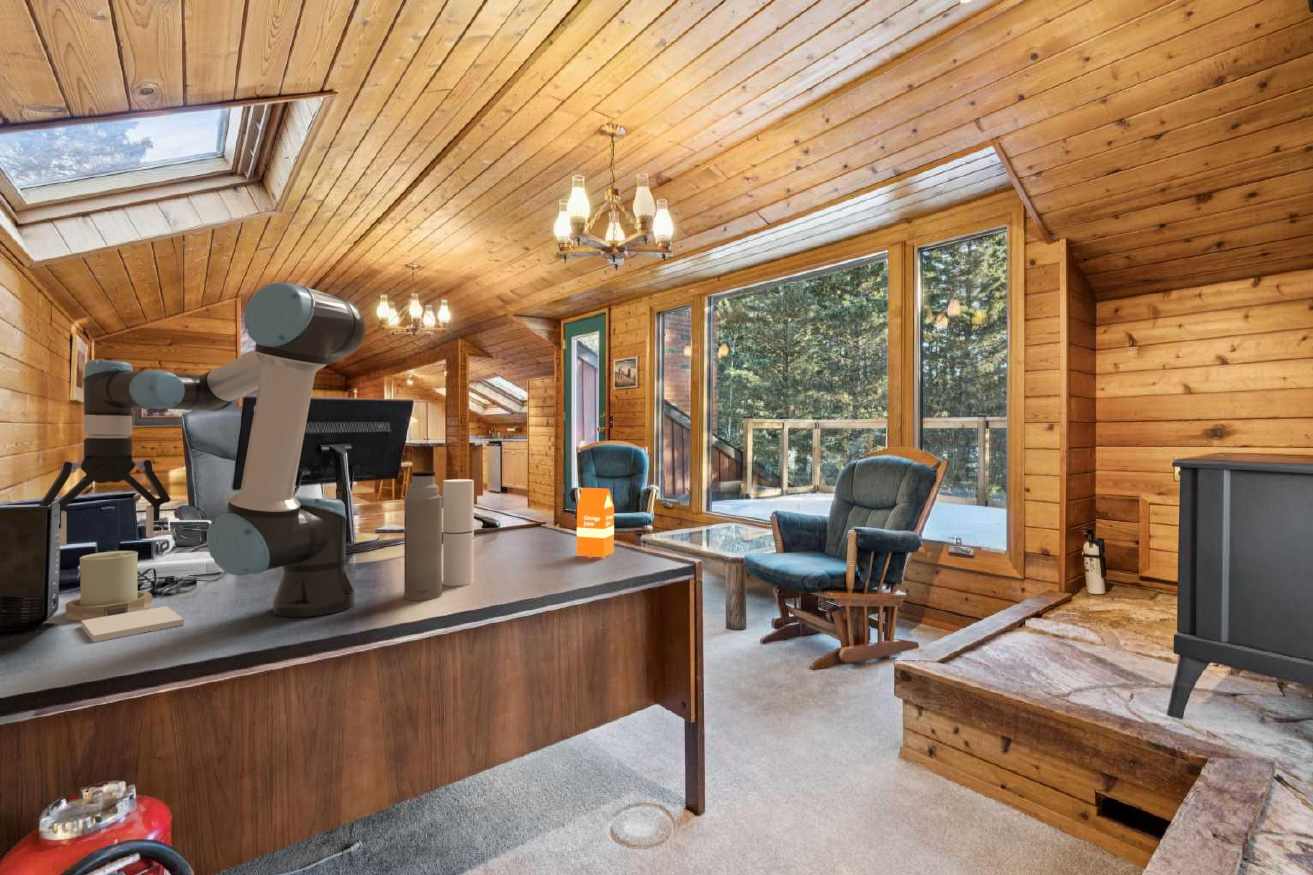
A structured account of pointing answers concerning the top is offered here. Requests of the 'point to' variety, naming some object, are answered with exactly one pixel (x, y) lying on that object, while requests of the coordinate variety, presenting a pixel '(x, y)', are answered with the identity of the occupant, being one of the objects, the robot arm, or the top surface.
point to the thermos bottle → (423, 538)
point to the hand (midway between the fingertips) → (107, 540)
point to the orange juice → (595, 523)
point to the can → (108, 578)
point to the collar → (106, 608)
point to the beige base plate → (130, 623)
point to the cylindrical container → (458, 532)
